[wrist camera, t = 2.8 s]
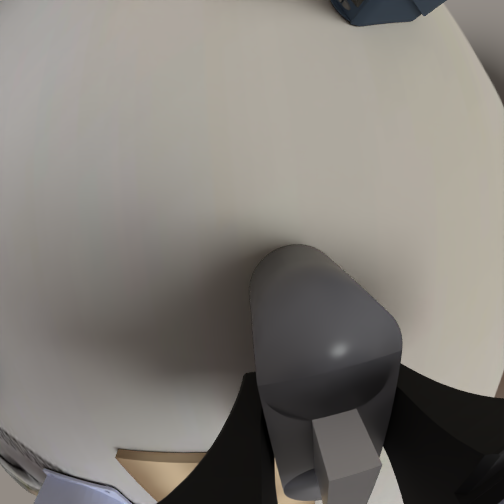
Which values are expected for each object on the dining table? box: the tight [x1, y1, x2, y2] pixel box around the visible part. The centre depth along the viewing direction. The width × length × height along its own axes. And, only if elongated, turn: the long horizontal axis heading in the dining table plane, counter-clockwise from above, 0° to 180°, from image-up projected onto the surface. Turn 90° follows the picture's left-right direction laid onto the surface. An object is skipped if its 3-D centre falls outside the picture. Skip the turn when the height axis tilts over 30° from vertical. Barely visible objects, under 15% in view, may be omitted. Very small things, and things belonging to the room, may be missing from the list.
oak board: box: [115, 449, 315, 504], centre depth 14 cm, size 12×13×1 cm
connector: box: [249, 245, 402, 504], centre depth 8 cm, size 4×10×7 cm, turn 10°
